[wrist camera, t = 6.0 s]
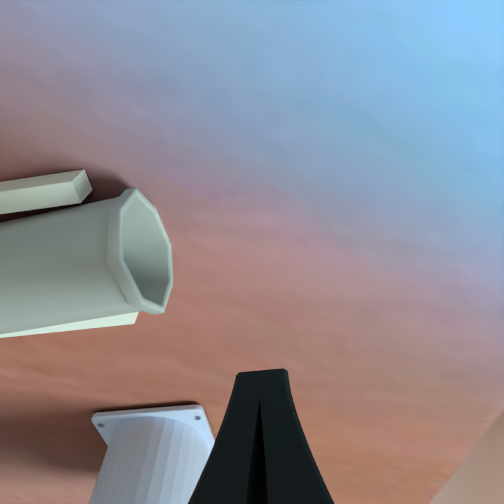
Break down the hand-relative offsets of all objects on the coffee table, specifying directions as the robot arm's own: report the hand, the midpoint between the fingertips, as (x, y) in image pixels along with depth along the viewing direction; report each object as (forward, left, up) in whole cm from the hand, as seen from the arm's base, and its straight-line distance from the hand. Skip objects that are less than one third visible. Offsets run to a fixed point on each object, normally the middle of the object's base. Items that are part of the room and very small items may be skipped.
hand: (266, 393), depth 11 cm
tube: (0, +17, -10) cm, 20 cm away
